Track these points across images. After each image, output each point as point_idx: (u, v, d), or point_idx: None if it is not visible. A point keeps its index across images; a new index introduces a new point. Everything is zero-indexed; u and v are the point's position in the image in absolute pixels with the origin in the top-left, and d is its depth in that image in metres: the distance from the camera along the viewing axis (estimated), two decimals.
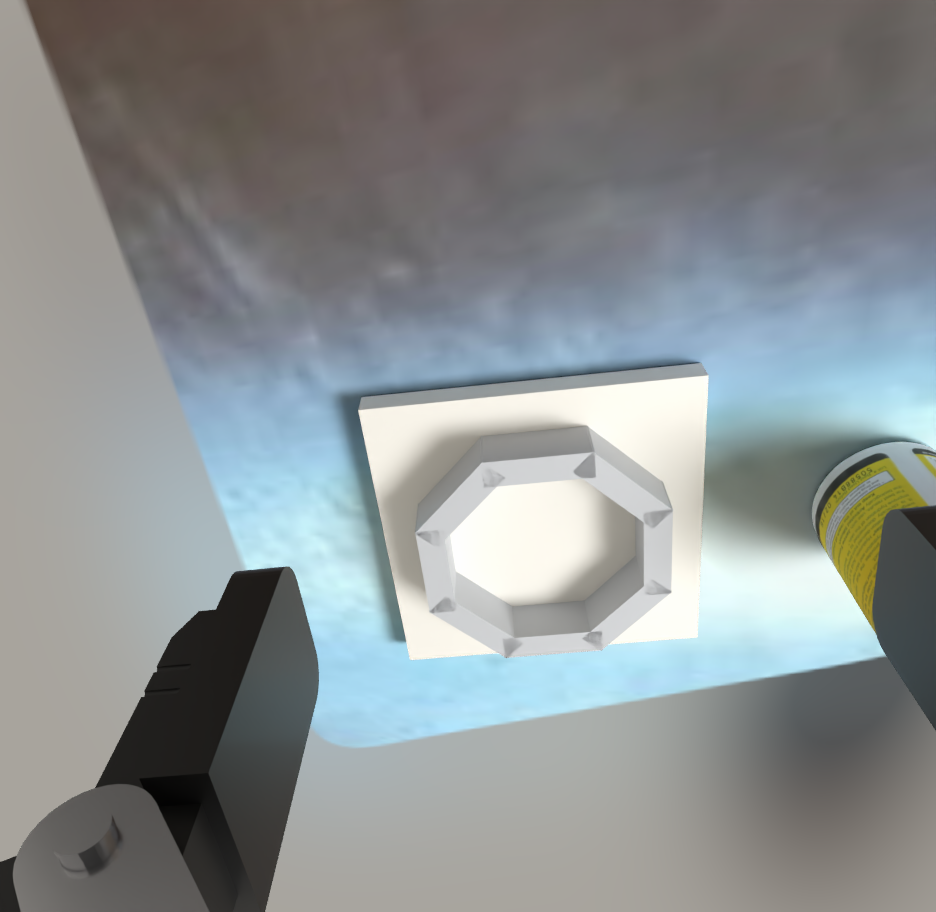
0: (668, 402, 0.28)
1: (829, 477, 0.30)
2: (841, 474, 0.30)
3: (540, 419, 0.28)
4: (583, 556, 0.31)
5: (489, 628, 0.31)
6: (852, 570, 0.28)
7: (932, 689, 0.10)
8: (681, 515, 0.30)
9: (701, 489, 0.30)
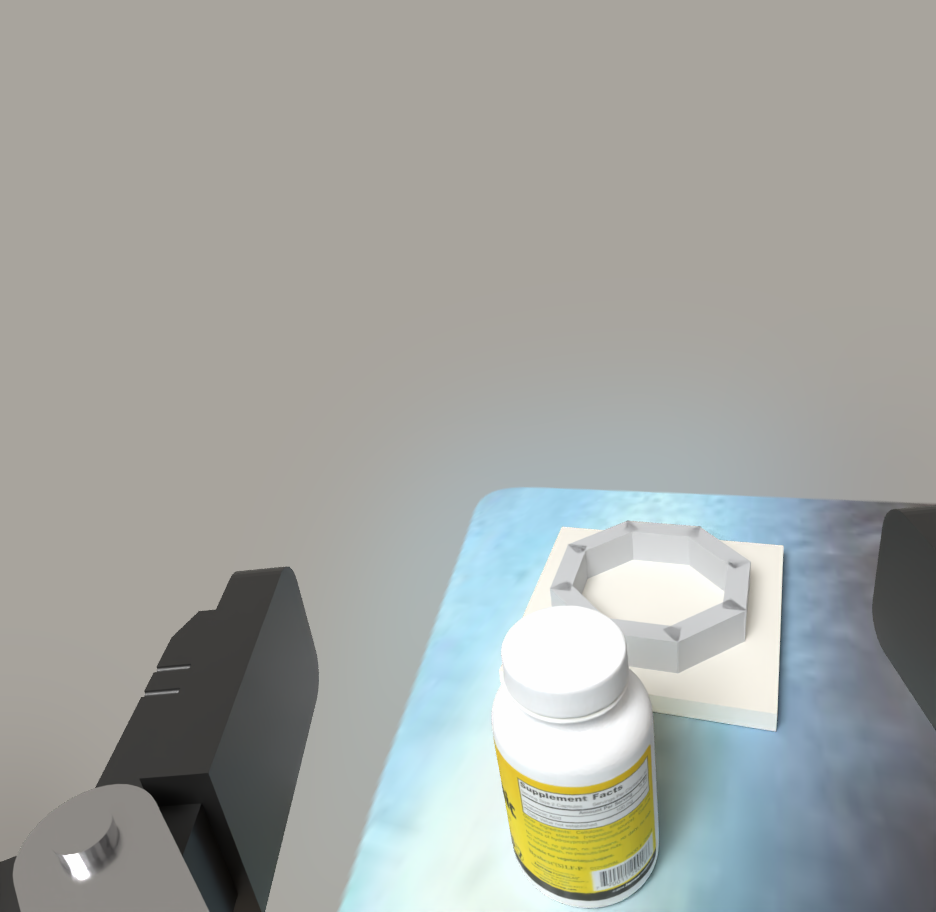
0: (756, 687, 0.35)
1: None
2: None
3: (756, 619, 0.38)
4: None
5: (600, 541, 0.42)
6: None
7: (932, 689, 0.10)
8: None
9: (662, 695, 0.35)
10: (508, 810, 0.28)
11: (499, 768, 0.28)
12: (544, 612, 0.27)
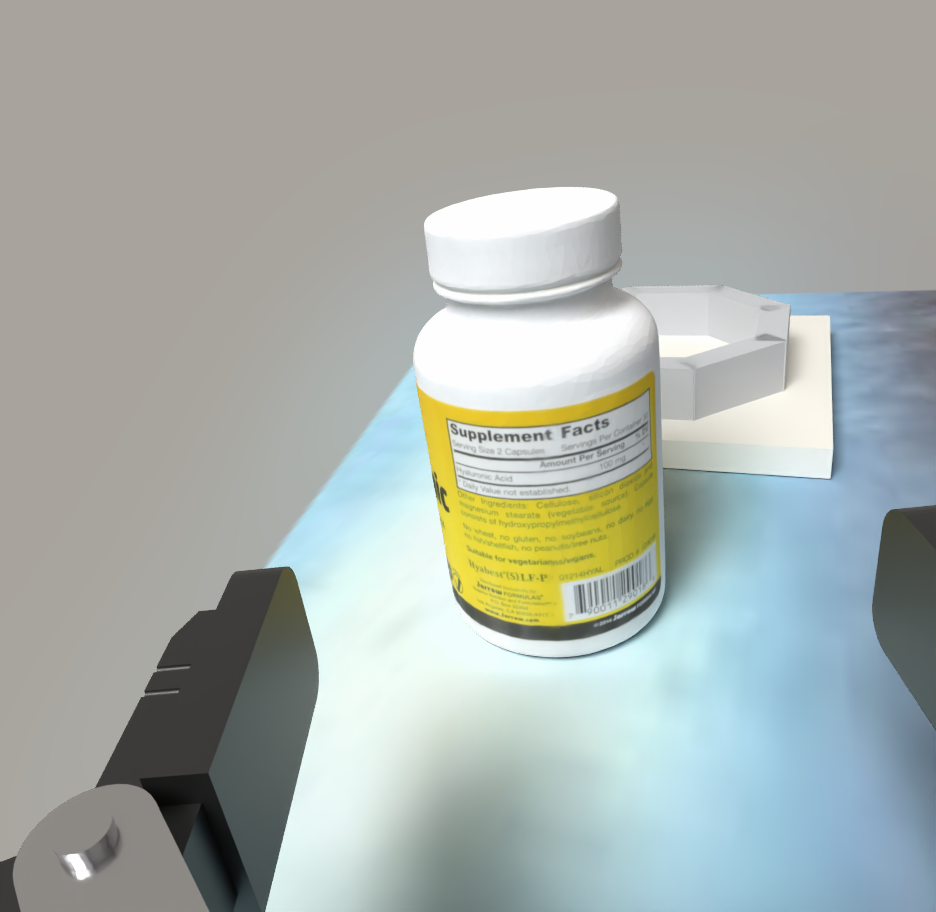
0: (801, 427, 0.25)
1: None
2: None
3: (798, 373, 0.29)
4: None
5: None
6: None
7: (932, 689, 0.10)
8: None
9: (672, 439, 0.26)
10: (440, 510, 0.19)
11: None
12: (496, 195, 0.18)
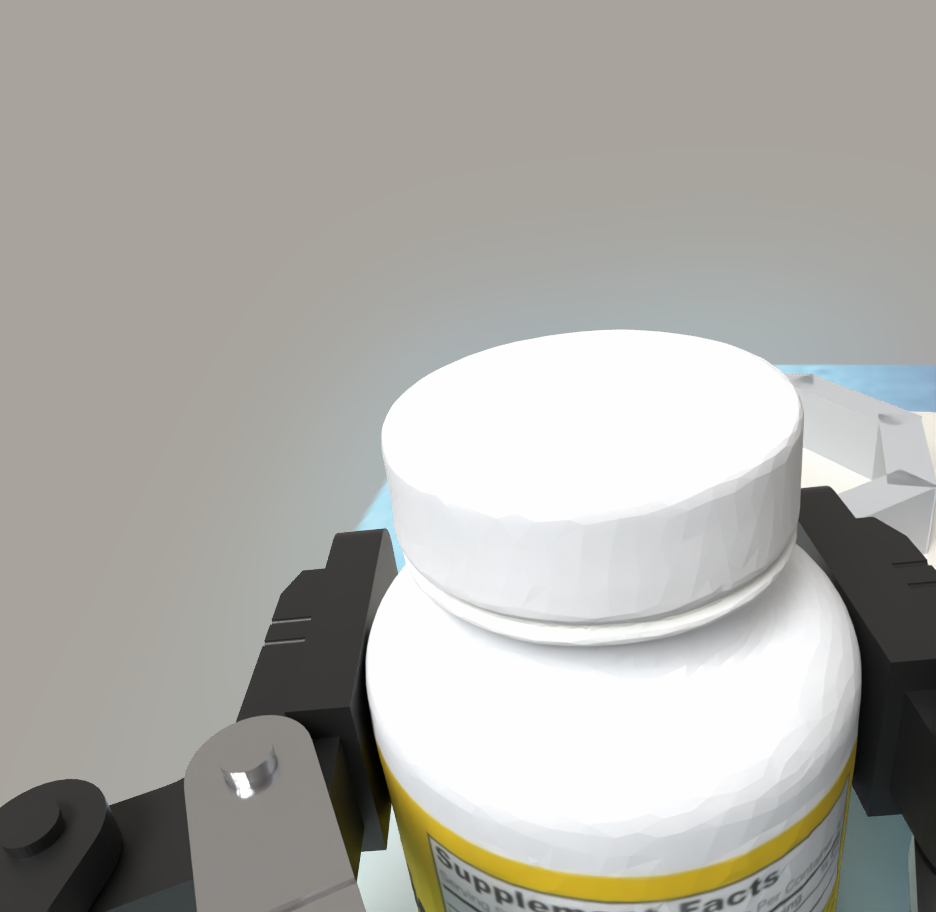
0: None
1: None
2: None
3: None
4: None
5: None
6: None
7: None
8: None
9: None
10: None
11: None
12: (528, 344, 0.09)
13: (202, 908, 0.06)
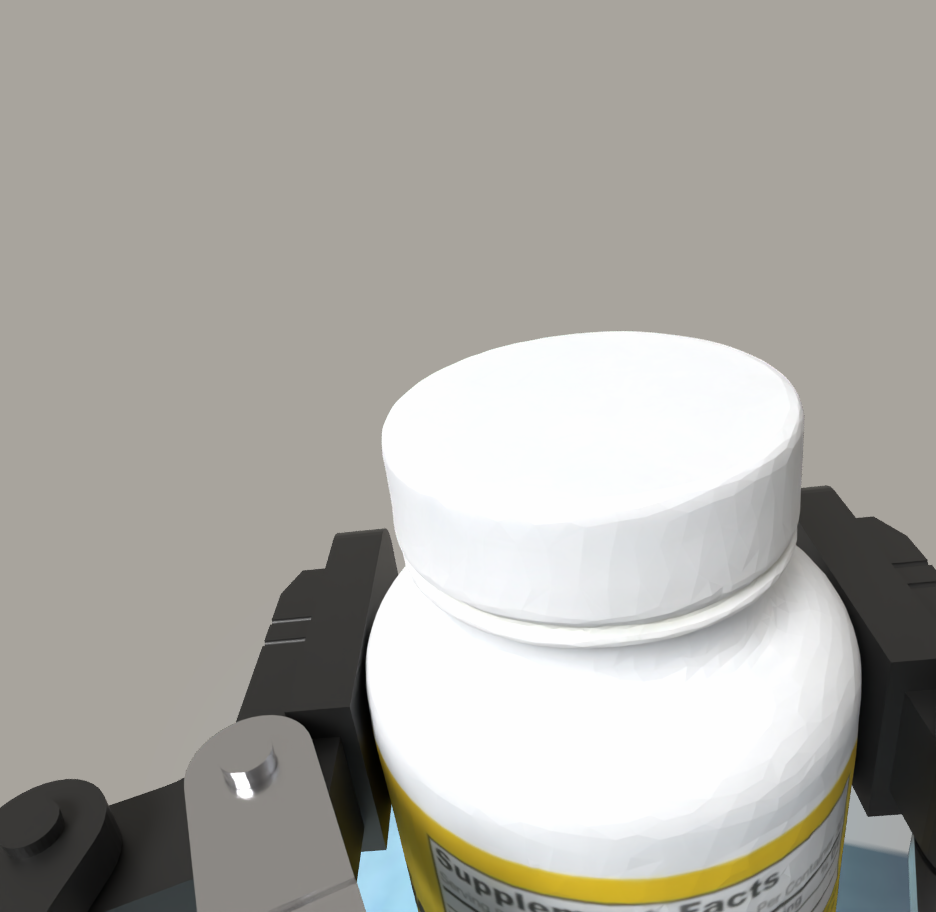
0: None
1: None
2: None
3: None
4: None
5: None
6: None
7: None
8: None
9: None
10: None
11: (391, 800, 0.10)
12: (528, 345, 0.09)
13: (202, 908, 0.06)
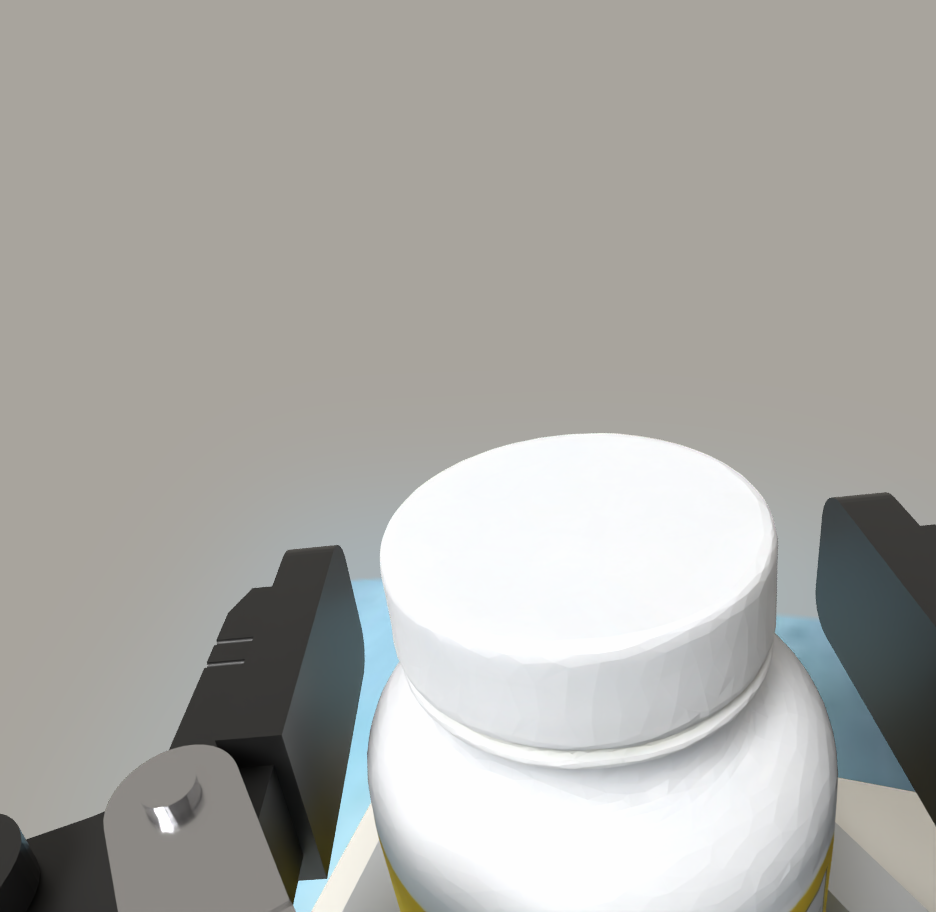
0: None
1: None
2: None
3: None
4: None
5: None
6: None
7: (865, 670, 0.10)
8: None
9: None
10: None
11: None
12: (520, 448, 0.10)
13: None
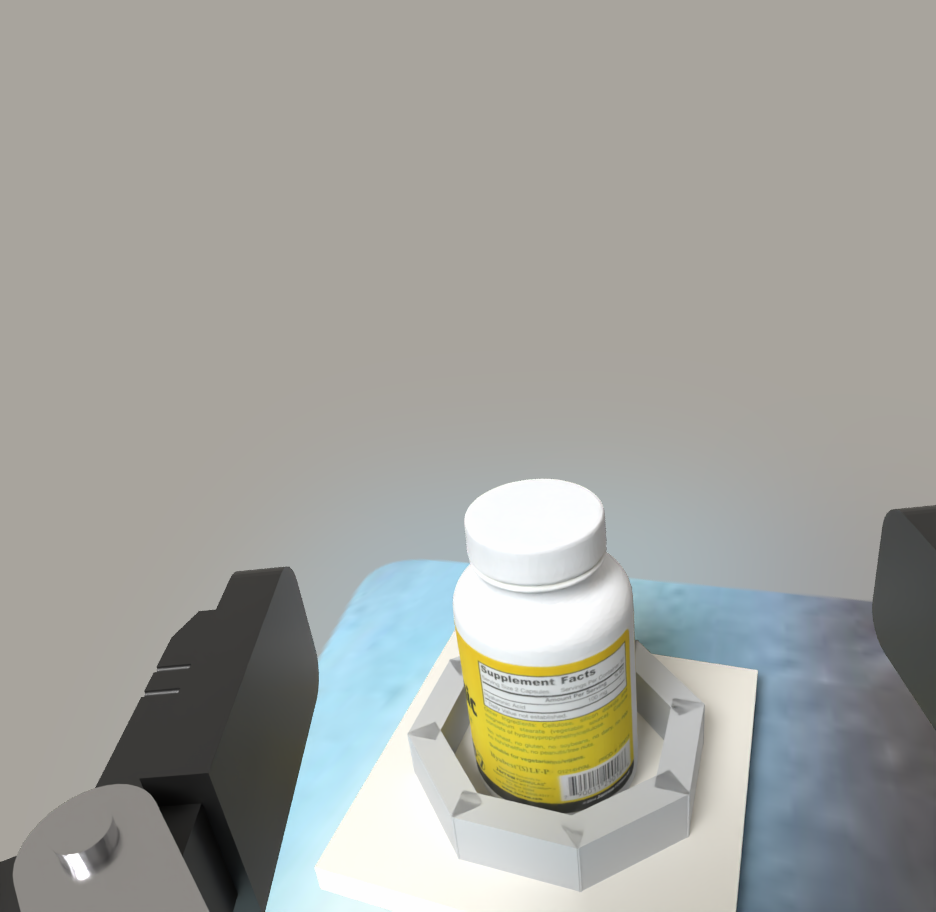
0: None
1: None
2: None
3: (709, 797, 0.25)
4: None
5: None
6: None
7: (932, 689, 0.10)
8: (519, 899, 0.23)
9: None
10: (469, 710, 0.25)
11: (460, 659, 0.25)
12: (516, 484, 0.24)
13: None
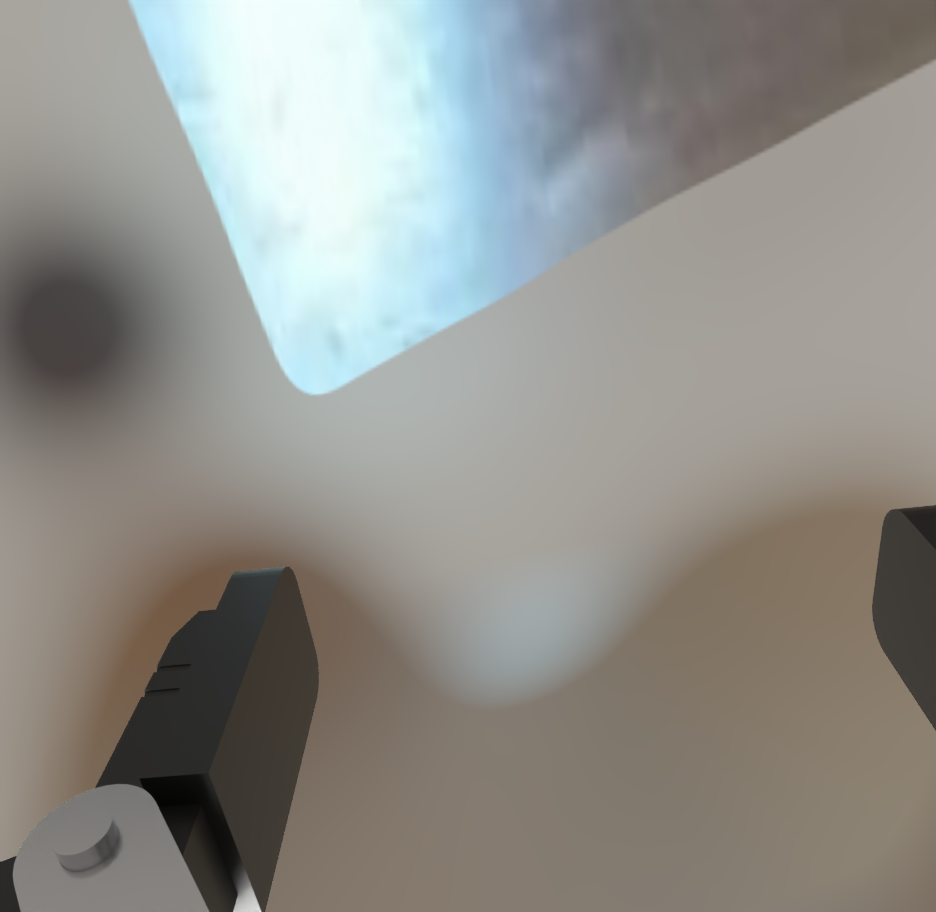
0: None
1: None
2: None
3: None
4: None
5: None
6: None
7: (932, 689, 0.10)
8: None
9: None
10: None
11: None
12: None
13: None
